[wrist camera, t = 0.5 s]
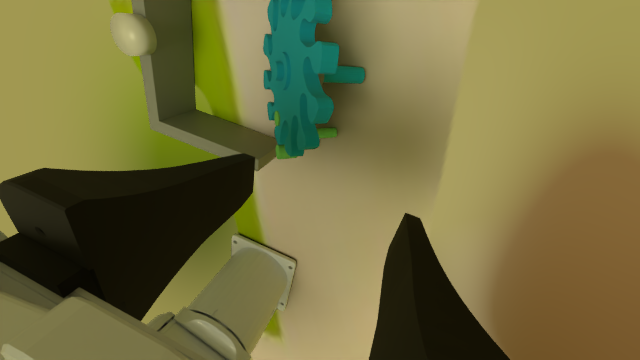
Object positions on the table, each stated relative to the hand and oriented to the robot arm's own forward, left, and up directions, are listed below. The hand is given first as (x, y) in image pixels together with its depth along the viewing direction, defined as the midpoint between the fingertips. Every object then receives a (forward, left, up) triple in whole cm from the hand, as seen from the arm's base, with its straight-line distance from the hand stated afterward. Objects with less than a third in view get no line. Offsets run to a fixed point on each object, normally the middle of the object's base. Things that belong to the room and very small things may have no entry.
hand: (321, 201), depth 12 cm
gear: (+3, +5, -10) cm, 11 cm away
